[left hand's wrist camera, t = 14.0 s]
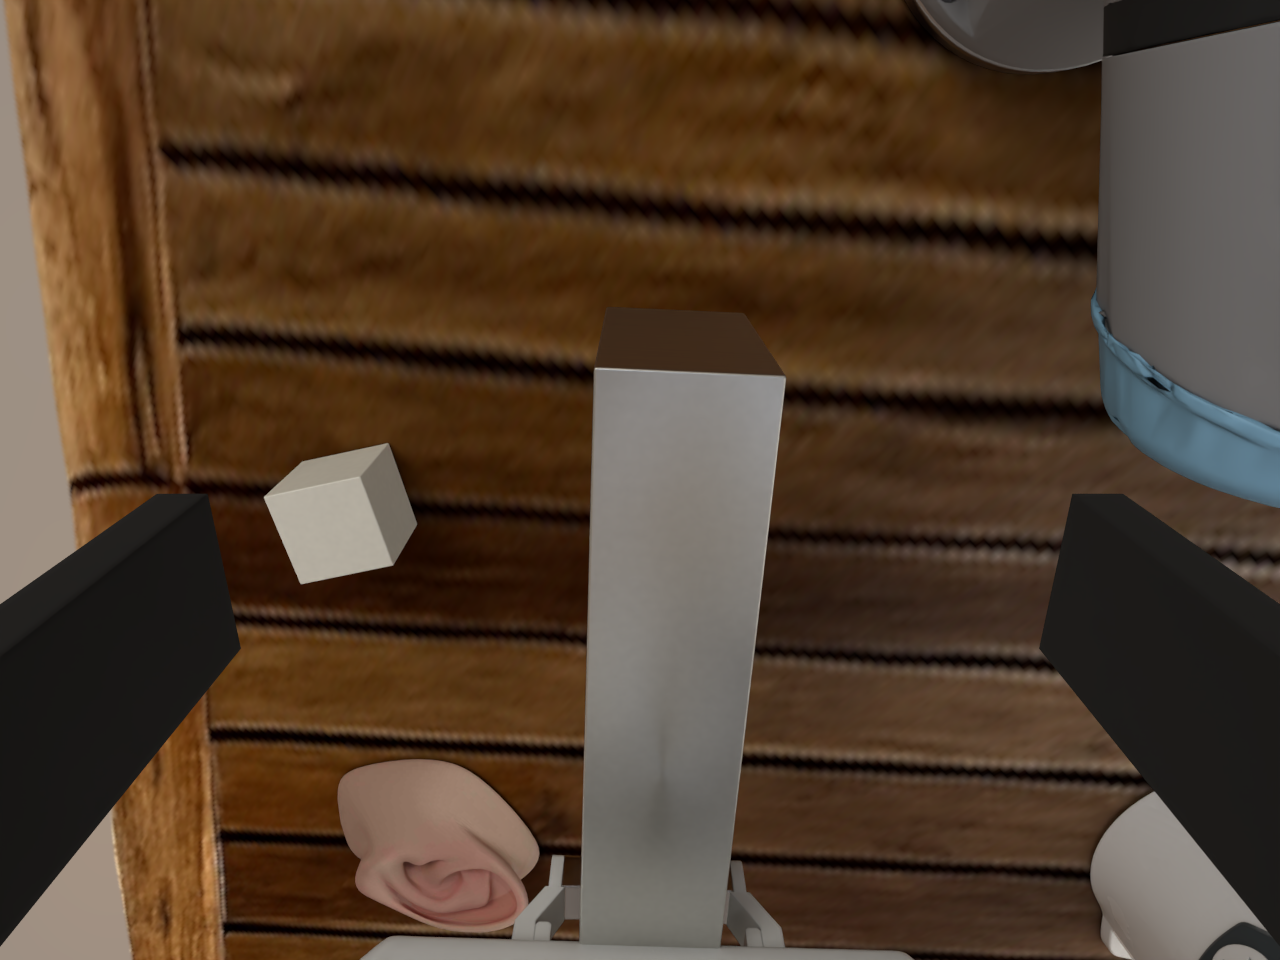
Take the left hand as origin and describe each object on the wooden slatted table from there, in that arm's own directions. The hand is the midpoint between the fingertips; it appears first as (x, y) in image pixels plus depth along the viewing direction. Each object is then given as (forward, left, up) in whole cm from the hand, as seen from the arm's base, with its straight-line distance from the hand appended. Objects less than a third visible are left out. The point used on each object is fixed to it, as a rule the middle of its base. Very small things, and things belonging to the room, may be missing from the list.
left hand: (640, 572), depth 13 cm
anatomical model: (+12, +36, -31) cm, 49 cm away
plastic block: (+15, +12, -31) cm, 36 cm away
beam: (-1, +12, -18) cm, 22 cm away
